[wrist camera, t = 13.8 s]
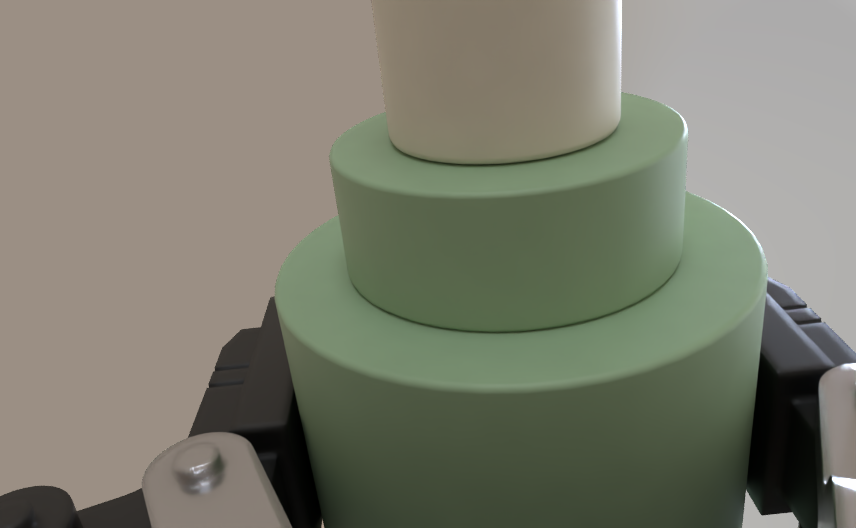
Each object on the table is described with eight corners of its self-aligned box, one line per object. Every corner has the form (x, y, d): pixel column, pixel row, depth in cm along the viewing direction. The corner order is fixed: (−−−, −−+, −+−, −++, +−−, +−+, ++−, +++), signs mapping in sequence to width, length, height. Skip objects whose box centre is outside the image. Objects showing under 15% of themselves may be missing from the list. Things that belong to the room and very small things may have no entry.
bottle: (348, 934, 15) (2, -262, 6) (491, 688, 19) (398, -225, 11) (641, 1168, 12) (729, -531, 3) (733, 813, 16) (876, -330, 8)
